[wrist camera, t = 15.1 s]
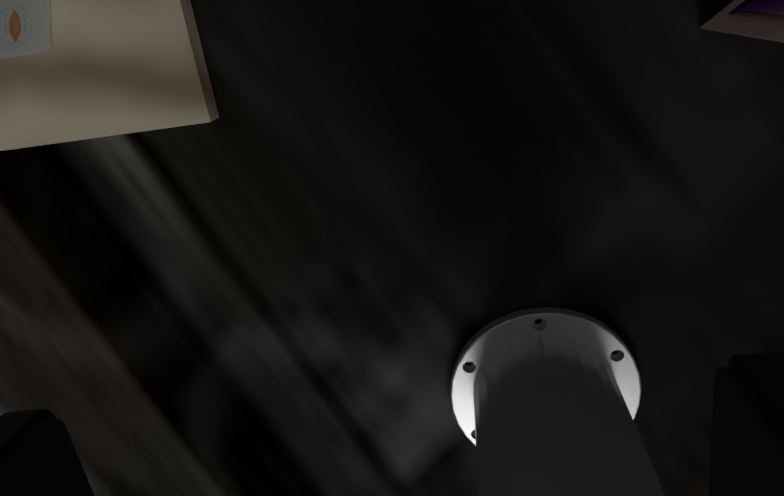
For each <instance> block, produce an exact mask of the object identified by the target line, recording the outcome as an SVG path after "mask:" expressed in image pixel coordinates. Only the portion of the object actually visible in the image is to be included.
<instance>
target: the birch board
mask: <svg viewBox="0 0 784 496" xmlns="http://www.w3.org/2000/svg"><path fill="white" fill-rule="evenodd" d="M49 8H50V34H51V49H50V50H47V51H43V52H38V53H32V54H26V55H20V56H14V57H8V58H3V59H0V151H3V150H11V149H18V148H25V147H32V146H40V145H47V144H54V143H62V142H69V141H76V140H83V139H91V138H98V137H105V136H113V135H120V134H127V133H134V132H142V131H149V130H156V129H164V128H171V127H178V126H185V125H193V124H200V123H207V122H211V121H213V120H215V119H217V118H219V115H218V111H217V107H216V102H215V98H214V94H213V90H212V86H211V82H210V78H209V74H208V70H207V66H206V62H205V58H204V54H203V50H202V46H201V42H200V38H199V34H198V30H197V26H196V22H195V17H194V13H193V9H192V5H191V1H190V0H49Z"/></svg>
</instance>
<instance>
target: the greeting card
mask: <svg viewBox="0 0 784 496" xmlns="http://www.w3.org/2000/svg"><path fill="white" fill-rule="evenodd" d="M700 29H706V30H712V31H718V32H724V33H730V34H735V35H741V36H747V37H753V38H759V39H765V40H771V41H777V42H783V43H784V0H734V1H733V2H732V3H730V4H729V5H728V6H726V7H725V8H724V9H723V10H721V11H720V12H719V13H718V14H716V15H715V16H714V17H713V18H711V19H710V20H709V21H708V22H706V23H705V24H704V25H702V26H701V27H700Z"/></svg>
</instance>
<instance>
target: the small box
mask: <svg viewBox="0 0 784 496" xmlns="http://www.w3.org/2000/svg"><path fill="white" fill-rule="evenodd" d="M50 49H51V34H50V8H49V0H0V59H3V58H8V57H14V56H20V55H26V54H32V53H38V52H43V51H47V50H50Z"/></svg>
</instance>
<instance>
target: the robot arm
mask: <svg viewBox="0 0 784 496" xmlns="http://www.w3.org/2000/svg"><path fill="white" fill-rule="evenodd" d="M537 319H541V320H540V321H535V320H537ZM615 350H616V351H615ZM468 362H470V363H468ZM450 383H451V386H450V397H451V405H452V410H453V413H454V416H455V418H456V421H457V424H458V425H459V427H460V428H461V430H462V431H463V433H464V434H465V436H466V437H467V438H468V439H469V440H470V441H471V442H472V443H473V444H474V445H475V446H476V456H477V475H478V493H479V496H665V495H664V492H663V490H662V487H661V485H660V483H659V480H658V478H657V476H656V473H655V471H654V468H653V466H652V464H651V461H650V459H649V457H648V454H647V452H646V450H645V447H644V445H643V442H642V440H641V438H640V435H639V433H638V431H637V428H636V426H635V423H634V421H633V420H634V419H635V416H636V413H637V410H638V407H639V405H640V397H641V381H640V373H639V371H638V368H637V365H636V363H635V360H634V358H633V356H632V354H631V352H630V350H629V349H628V347H627V345H626V344H625V343H624V342H623V340H622V339H621V338H620V337H619V336H618V334H617V333H616V332H614V331H613V330H612V329H611V328H609V327H608V326H607V325H606V324H604V323H603V322H601V321H599V320H597V319H595V318H593V317H591V316H589V315H587V314H584V313H581V312H577V311H574V310H571V309H564V308H556V307H539V308H529V309H525V310H520V311H515V312H512V313H510V314H507V315H505V316H502V317H500V318H497V319H496V320H494V321H492V322H491V323H489V324H487V325H486V326H484V327H483V328H481V329H480V330H479V331H478V332H477V333H476V334H475V335H474V336H473V337H471V338H470V339H469V341H468V342H467V343H466V345H465V346H464V347H463V349H462V350H461V351H460V353H459V355H458V358H457V360H456V362H455V364H454V366H453V371H452V376H451V381H450ZM0 496H94V494H93V491H92V489H91V487H90V484H89V482H88V479H87V477H86V474H85V472H84V470H83V467H82V465H81V462H80V460H79V457H78V455H77V453H76V450H75V448H74V445H73V443H72V440H71V438H70V435H69V433H68V431H67V428H66V426H65V424H64V423H63V421H61V420H60V419H58V418H56V417H55V415H54V414H53V413H51V412H50V411H49V410H45V409H39V410H26V411H13V412H8V413H4V414H3V415H2V416H0ZM709 496H784V354H783V353H780V352H771V353H758V354H745V355H733V356H732V357H731V358H730V360H729V362H728V367H723V368H718V369H716V372H715V376H714V394H713V417H712V440H711V463H710V486H709Z"/></svg>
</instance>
